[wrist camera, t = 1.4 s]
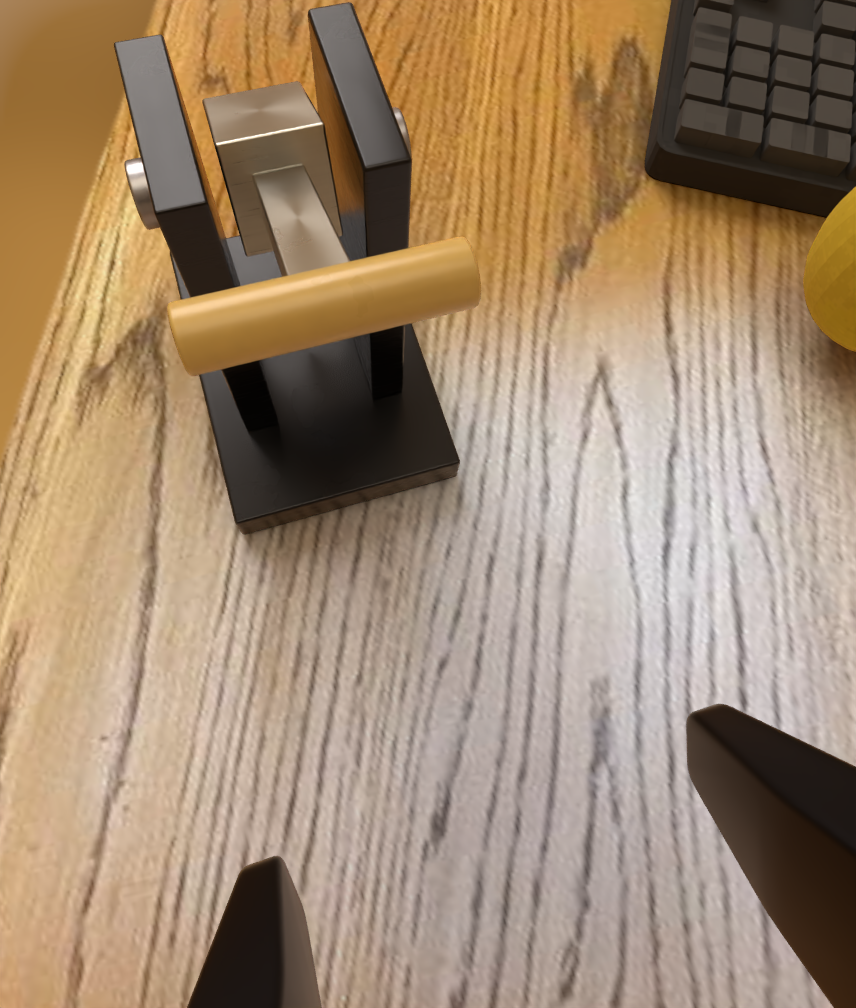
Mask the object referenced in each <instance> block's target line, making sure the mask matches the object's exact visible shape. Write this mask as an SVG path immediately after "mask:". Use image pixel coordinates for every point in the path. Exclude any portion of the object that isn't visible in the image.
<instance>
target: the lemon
mask: <svg viewBox="0 0 856 1008" xmlns="http://www.w3.org/2000/svg"><path fill="white" fill-rule="evenodd" d="M803 287H804V294H805V300H806V304H807V307H808V309H809V312H810V314H811V316H812V318H813V320H814V321H815V323H816V324H817V325H818V327H819V328H820V329H821V331H822V332H824V333H825V334H826V335H827V336H828V337H829V338H830V339H832V340H833V341H834V342H836V343H838V344H839V345H841V346H843V347H845V348H846V349H849V350H851V351H854V352H856V187H855V188H853V189H852V190H851V191H850V192H849V193H848V194H847V195H846V196H845V197H844V198H843V199H842V200H841V201H840V202H839V203H838V205H837V206H836V207H835V208H834V209H833V210H832V212H831V213H830V214H829V216H828V217H827V219H826V220H825V222H824V223H823V225H822V227H821V229H820V231H819V232H818V234H817V236H816V238H815V240H814V242H813V244H812V246H811V248H810V251H809V253H808V256H807V260H806V265H805V272H804V278H803Z"/></svg>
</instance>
